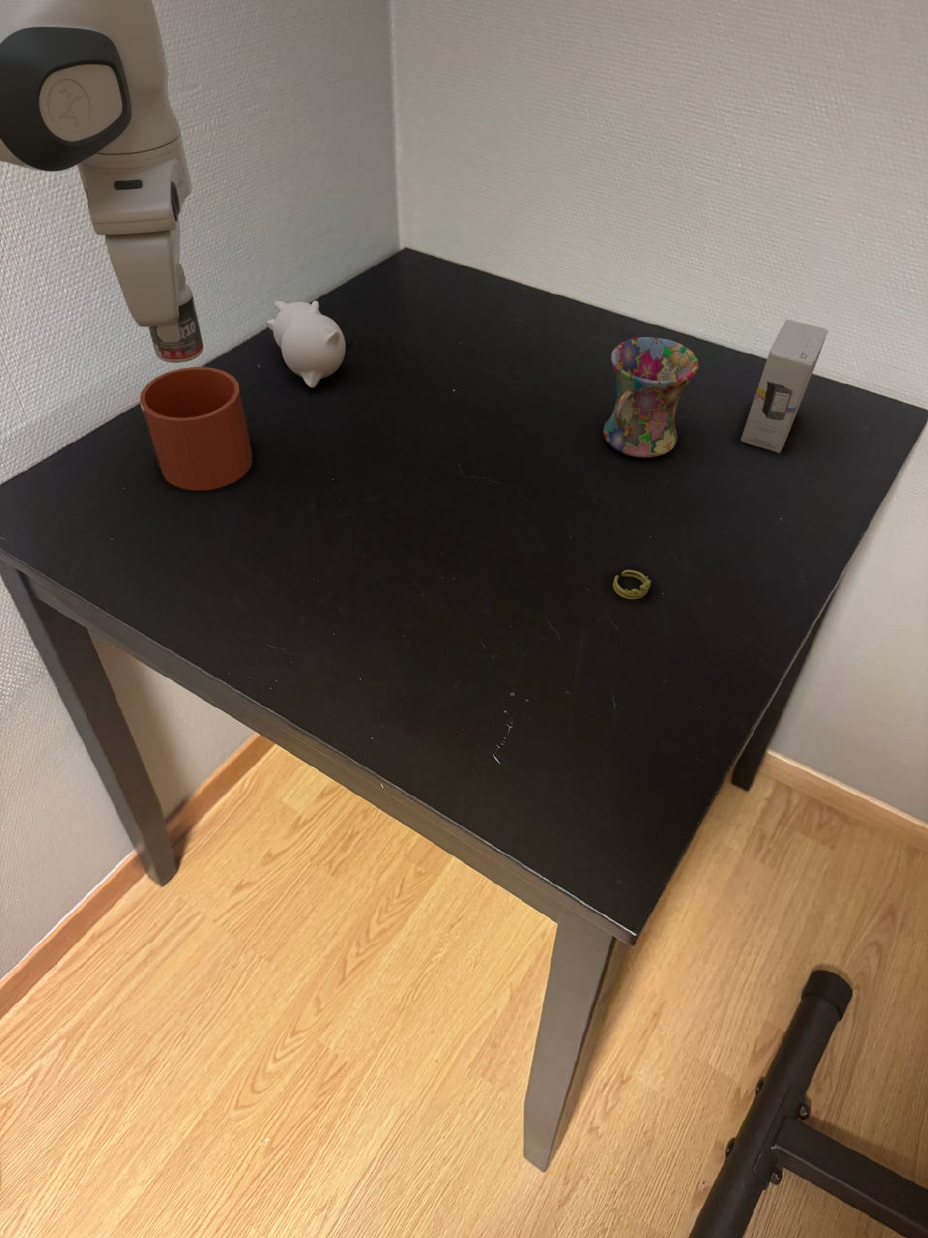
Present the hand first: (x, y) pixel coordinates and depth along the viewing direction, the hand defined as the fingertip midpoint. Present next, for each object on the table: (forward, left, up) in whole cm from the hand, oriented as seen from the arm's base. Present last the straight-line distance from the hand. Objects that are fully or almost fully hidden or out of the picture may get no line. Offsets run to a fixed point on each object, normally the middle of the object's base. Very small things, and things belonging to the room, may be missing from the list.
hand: (172, 323), depth 84 cm
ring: (+40, -28, -17) cm, 52 cm away
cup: (0, 0, -17) cm, 17 cm away
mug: (+48, -6, -17) cm, 51 cm away
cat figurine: (+14, +18, -17) cm, 28 cm away
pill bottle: (0, 0, -3) cm, 3 cm away
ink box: (+65, -6, -17) cm, 67 cm away
